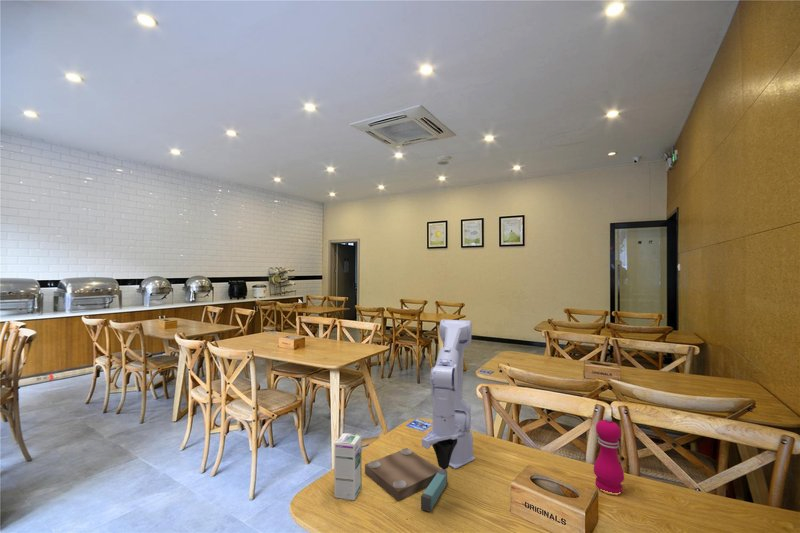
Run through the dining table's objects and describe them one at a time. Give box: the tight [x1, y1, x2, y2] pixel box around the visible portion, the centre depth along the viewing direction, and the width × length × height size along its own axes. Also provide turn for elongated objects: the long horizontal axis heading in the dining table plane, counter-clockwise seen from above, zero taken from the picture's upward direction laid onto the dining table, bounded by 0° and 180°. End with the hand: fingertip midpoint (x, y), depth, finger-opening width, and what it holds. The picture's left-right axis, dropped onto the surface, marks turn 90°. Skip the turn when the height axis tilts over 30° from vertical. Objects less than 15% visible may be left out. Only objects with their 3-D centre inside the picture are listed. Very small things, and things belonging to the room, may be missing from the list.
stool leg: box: [420, 468, 448, 513], centre depth 91 cm, size 14×3×3 cm, turn 154°
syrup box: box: [333, 432, 363, 501], centre depth 92 cm, size 6×6×14 cm
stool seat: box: [364, 447, 440, 502], centre depth 100 cm, size 16×16×3 cm
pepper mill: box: [593, 414, 625, 493], centre depth 95 cm, size 7×7×20 cm
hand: (443, 467), depth 88 cm, fingers closed
